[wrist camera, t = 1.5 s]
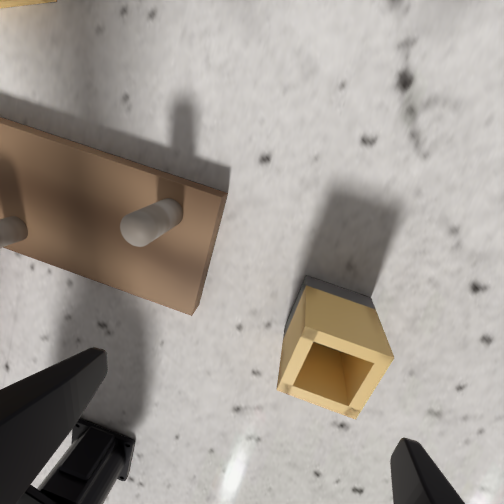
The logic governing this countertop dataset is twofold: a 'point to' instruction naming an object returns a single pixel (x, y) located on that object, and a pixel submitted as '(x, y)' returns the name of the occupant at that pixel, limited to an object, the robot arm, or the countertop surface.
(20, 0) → the tan angular part
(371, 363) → the loose sleeve
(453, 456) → the countertop surface
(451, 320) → the countertop surface
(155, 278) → the pin board
